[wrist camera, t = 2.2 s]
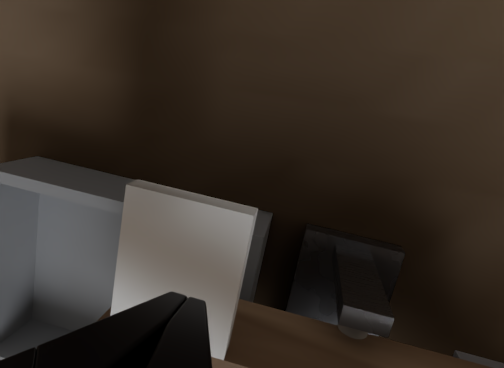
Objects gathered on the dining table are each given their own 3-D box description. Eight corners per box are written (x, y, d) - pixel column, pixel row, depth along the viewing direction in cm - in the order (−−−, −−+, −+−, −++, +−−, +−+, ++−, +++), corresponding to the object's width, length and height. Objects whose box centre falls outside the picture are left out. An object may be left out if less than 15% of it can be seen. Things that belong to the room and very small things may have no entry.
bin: (235, 382, 23) (220, 435, 20) (27, 320, 25) (-23, 358, 21) (272, 213, 21) (263, 237, 17) (37, 156, 22) (-18, 167, 19)
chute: (488, 486, 18) (565, 658, 12) (143, 380, 20) (76, 488, 15) (595, 250, 15) (760, 339, 10) (177, 154, 17) (110, 180, 12)
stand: (347, 414, 23) (360, 549, 16) (265, 390, 23) (244, 510, 16) (400, 246, 20) (444, 321, 13) (307, 223, 20) (302, 283, 14)
